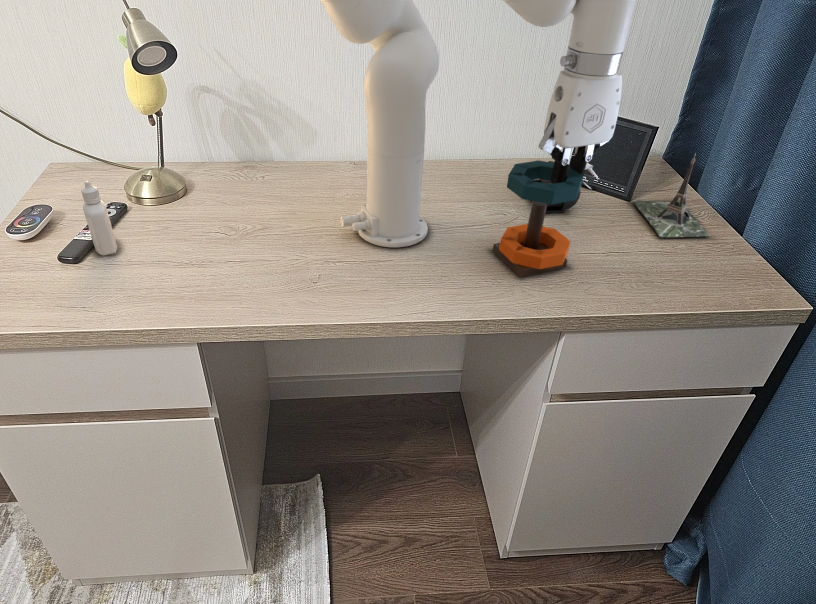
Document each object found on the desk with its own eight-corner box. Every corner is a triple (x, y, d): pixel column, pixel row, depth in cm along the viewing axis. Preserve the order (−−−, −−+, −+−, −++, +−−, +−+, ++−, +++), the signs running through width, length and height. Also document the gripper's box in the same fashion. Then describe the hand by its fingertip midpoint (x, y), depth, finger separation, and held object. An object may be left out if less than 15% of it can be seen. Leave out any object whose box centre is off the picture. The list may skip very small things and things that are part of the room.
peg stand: (520, 277, 100) (531, 219, 94) (492, 251, 106) (500, 195, 100) (565, 267, 103) (579, 210, 96) (535, 242, 109) (547, 187, 103)
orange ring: (522, 272, 98) (524, 261, 97) (489, 241, 106) (491, 229, 105) (578, 261, 102) (581, 250, 100) (543, 231, 109) (545, 220, 108)
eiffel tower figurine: (629, 202, 123) (648, 136, 115) (678, 202, 124) (701, 137, 116) (659, 239, 112) (683, 169, 103) (713, 239, 112) (741, 169, 104)
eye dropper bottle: (87, 256, 101) (65, 188, 94) (99, 239, 106) (79, 173, 98) (113, 256, 101) (94, 189, 94) (124, 240, 106) (107, 174, 98)
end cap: (576, 213, 119) (584, 180, 114) (541, 215, 118) (548, 182, 113) (556, 191, 126) (563, 159, 122) (523, 193, 125) (529, 161, 121)
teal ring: (533, 207, 91) (536, 194, 90) (496, 179, 99) (498, 166, 97) (592, 197, 94) (596, 183, 93) (552, 170, 102) (554, 157, 101)
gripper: (561, 74, 81) (536, 201, 93) (655, 64, 86) (621, 186, 98) (529, 59, 87) (510, 182, 98) (620, 51, 92) (591, 168, 103)
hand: (565, 183), depth 98 cm, fingers closed on teal ring, 2 cm apart
